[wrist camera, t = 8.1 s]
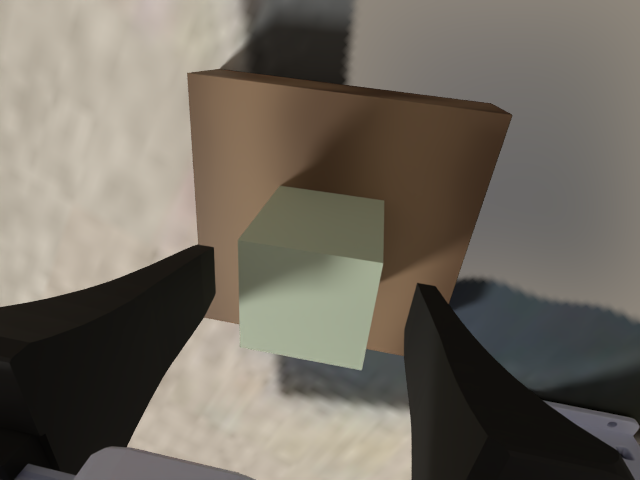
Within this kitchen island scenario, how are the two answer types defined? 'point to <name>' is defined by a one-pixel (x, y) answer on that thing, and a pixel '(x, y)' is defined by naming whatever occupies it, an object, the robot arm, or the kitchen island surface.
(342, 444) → the kitchen island surface
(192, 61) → the kitchen island surface
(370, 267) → the block
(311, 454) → the kitchen island surface
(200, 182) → the plinth
